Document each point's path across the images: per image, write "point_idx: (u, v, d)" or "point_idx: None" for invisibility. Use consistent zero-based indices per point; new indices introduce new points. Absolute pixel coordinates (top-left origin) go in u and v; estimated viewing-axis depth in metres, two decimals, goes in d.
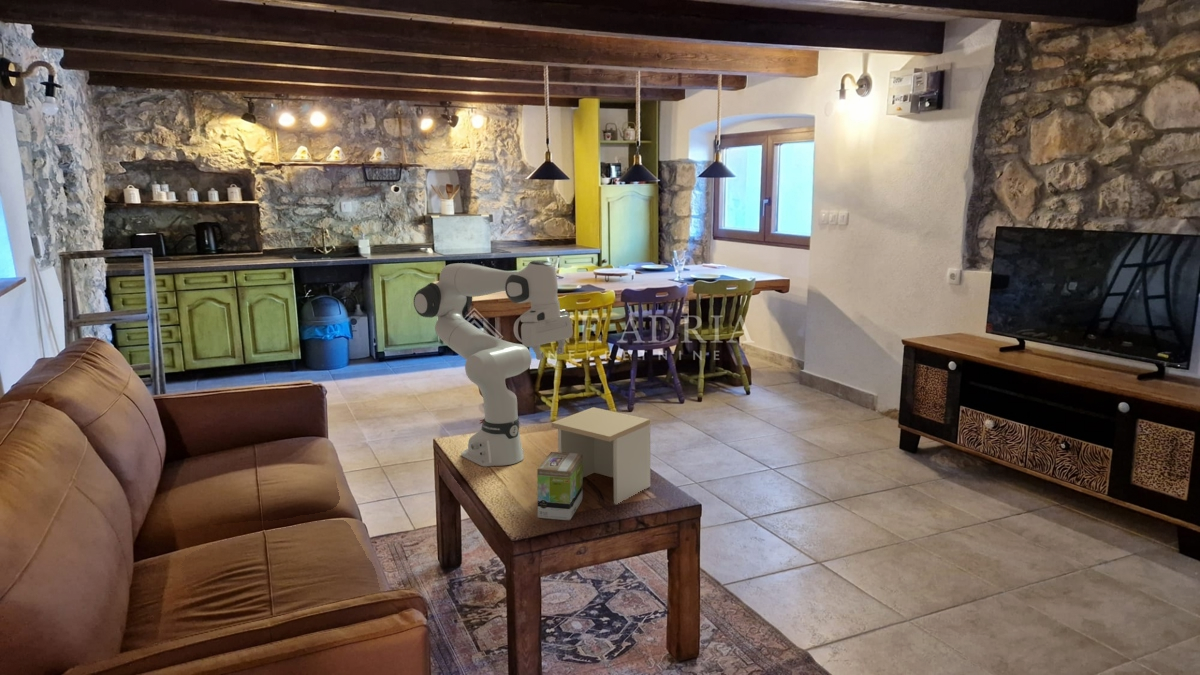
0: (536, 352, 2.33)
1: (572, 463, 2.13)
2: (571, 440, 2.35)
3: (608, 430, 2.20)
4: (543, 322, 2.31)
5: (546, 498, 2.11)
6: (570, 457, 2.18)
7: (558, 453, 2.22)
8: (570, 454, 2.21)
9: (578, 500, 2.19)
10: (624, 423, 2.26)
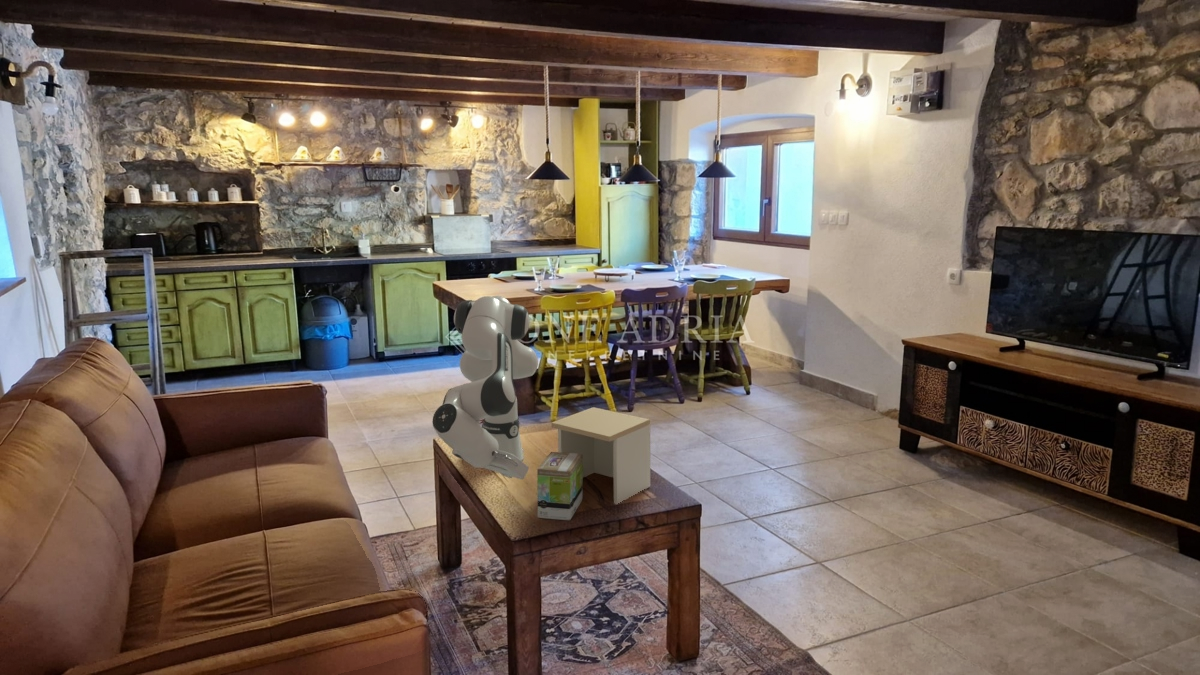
0: None
1: (572, 463, 2.13)
2: (571, 440, 2.35)
3: (608, 430, 2.20)
4: None
5: (546, 498, 2.11)
6: (570, 457, 2.18)
7: (558, 453, 2.22)
8: (570, 454, 2.21)
9: (578, 500, 2.19)
10: (624, 423, 2.26)
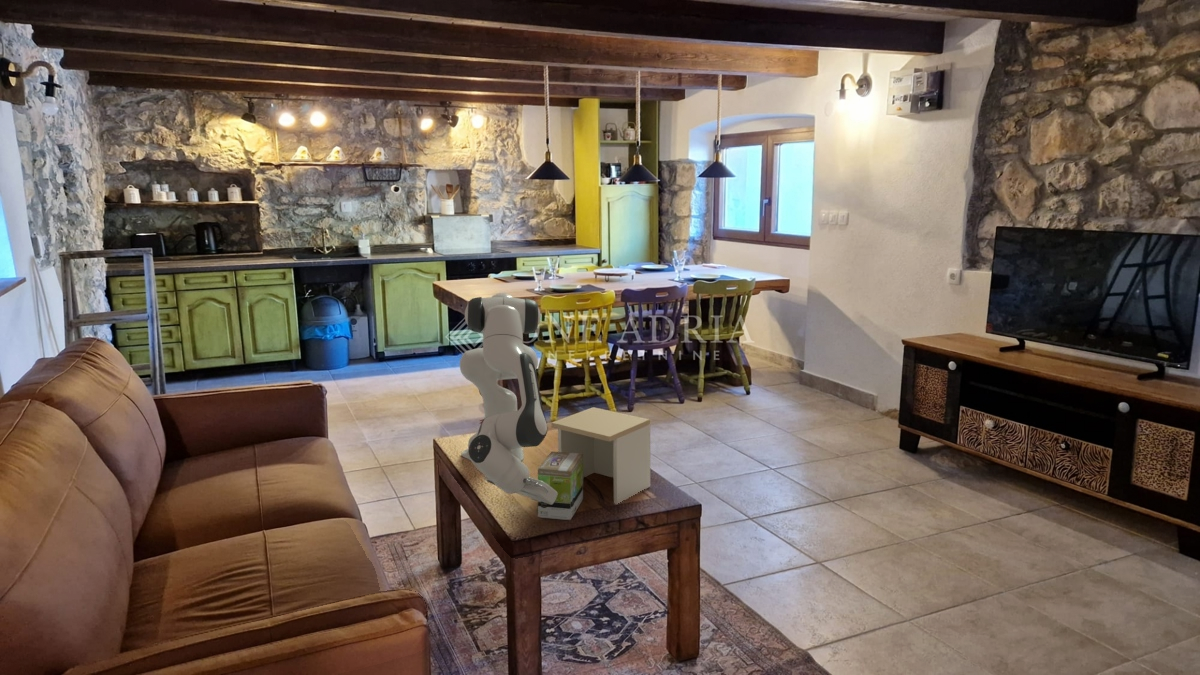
0: None
1: (572, 463, 2.14)
2: (571, 440, 2.35)
3: (608, 430, 2.20)
4: None
5: None
6: (571, 457, 2.18)
7: (559, 453, 2.22)
8: (570, 454, 2.21)
9: (578, 500, 2.19)
10: (624, 423, 2.26)
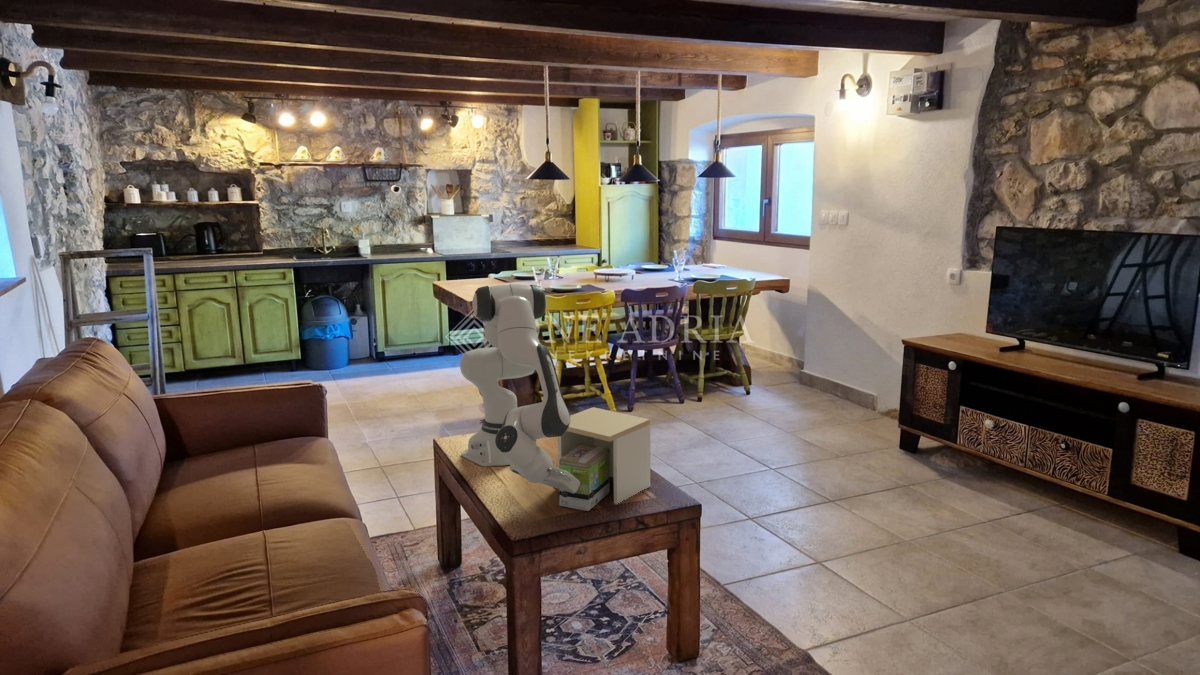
0: None
1: (595, 456, 2.19)
2: (571, 440, 2.35)
3: (608, 430, 2.20)
4: None
5: None
6: (595, 450, 2.23)
7: (586, 445, 2.28)
8: (597, 447, 2.26)
9: (602, 492, 2.24)
10: (624, 423, 2.26)
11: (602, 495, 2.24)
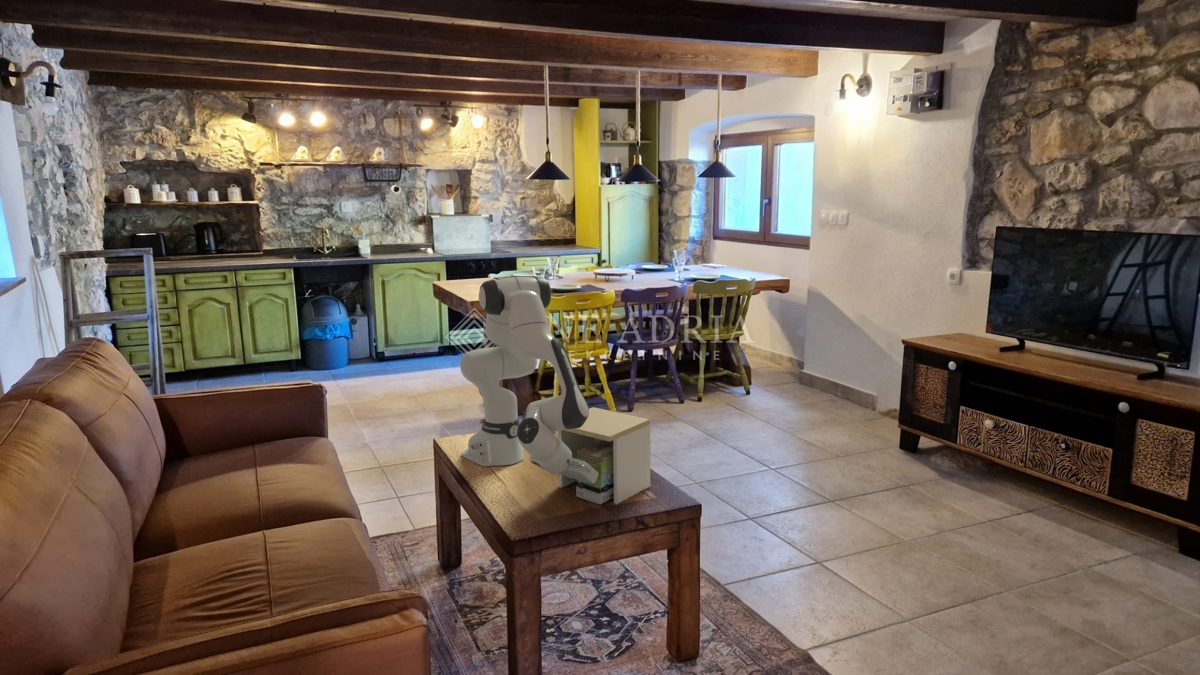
0: None
1: (611, 451, 2.22)
2: (571, 440, 2.35)
3: (608, 430, 2.20)
4: None
5: None
6: None
7: (611, 441, 2.32)
8: None
9: None
10: (624, 423, 2.26)
11: None
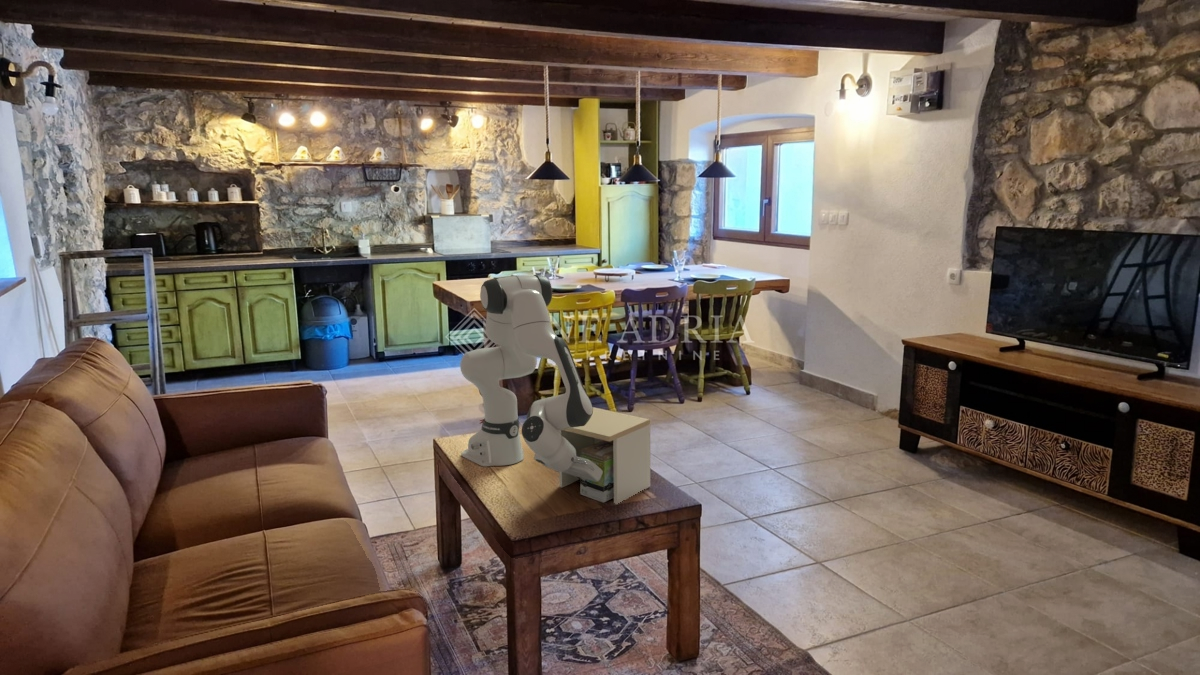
0: None
1: None
2: (571, 440, 2.35)
3: (608, 430, 2.20)
4: None
5: None
6: None
7: None
8: None
9: None
10: (624, 423, 2.26)
11: None
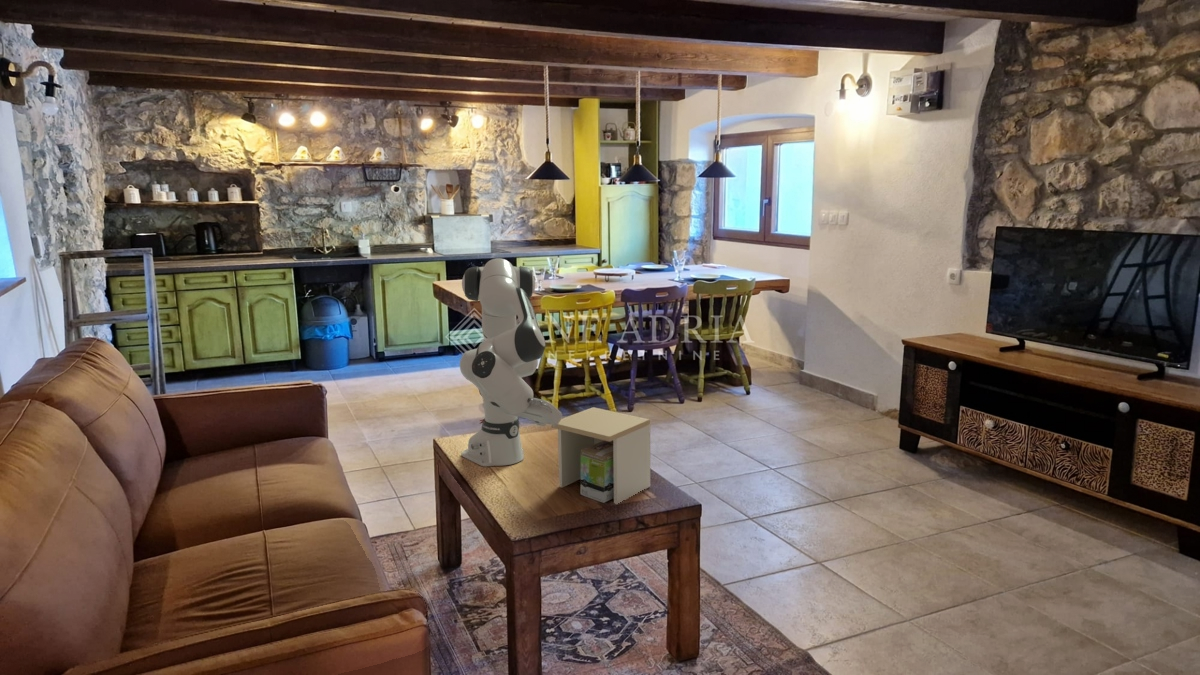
0: None
1: None
2: (571, 440, 2.35)
3: (608, 430, 2.20)
4: None
5: (586, 478, 2.25)
6: None
7: None
8: None
9: None
10: (624, 423, 2.26)
11: None
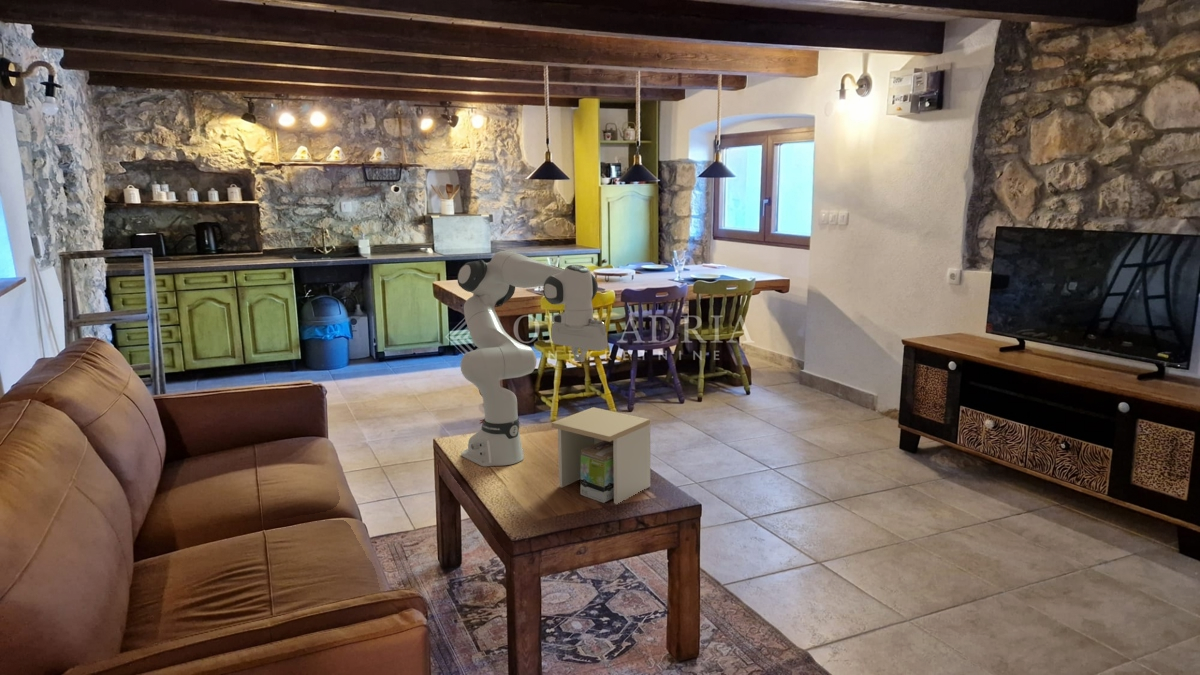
0: None
1: None
2: (571, 440, 2.35)
3: (608, 430, 2.20)
4: (562, 325, 2.37)
5: (587, 478, 2.25)
6: None
7: None
8: None
9: None
10: (624, 423, 2.26)
11: None
